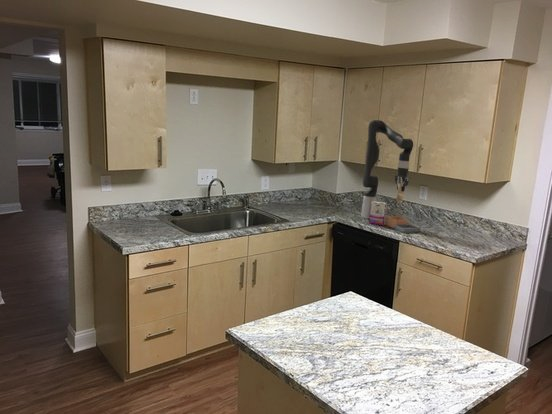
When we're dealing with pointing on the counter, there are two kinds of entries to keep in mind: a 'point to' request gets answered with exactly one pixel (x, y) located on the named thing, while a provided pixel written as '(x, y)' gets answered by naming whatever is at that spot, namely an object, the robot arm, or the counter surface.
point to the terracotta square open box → (396, 221)
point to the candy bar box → (378, 213)
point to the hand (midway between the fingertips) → (400, 190)
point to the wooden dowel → (399, 194)
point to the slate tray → (406, 228)
